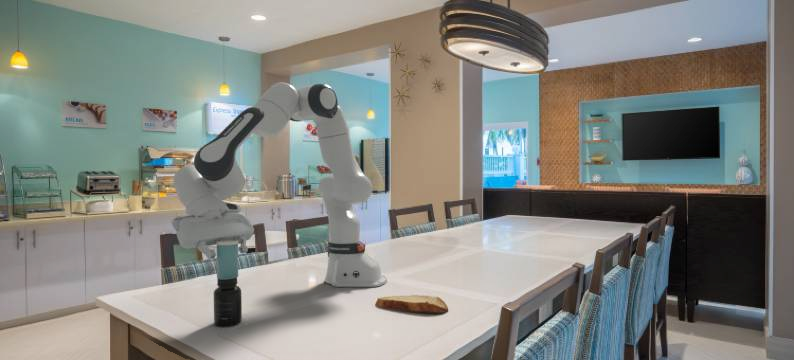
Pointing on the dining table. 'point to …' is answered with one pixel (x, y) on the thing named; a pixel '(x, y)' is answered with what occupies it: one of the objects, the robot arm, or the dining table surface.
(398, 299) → the slice of bread
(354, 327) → the dining table surface
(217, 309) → the supplement bottle
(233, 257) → the cup
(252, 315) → the dining table surface
